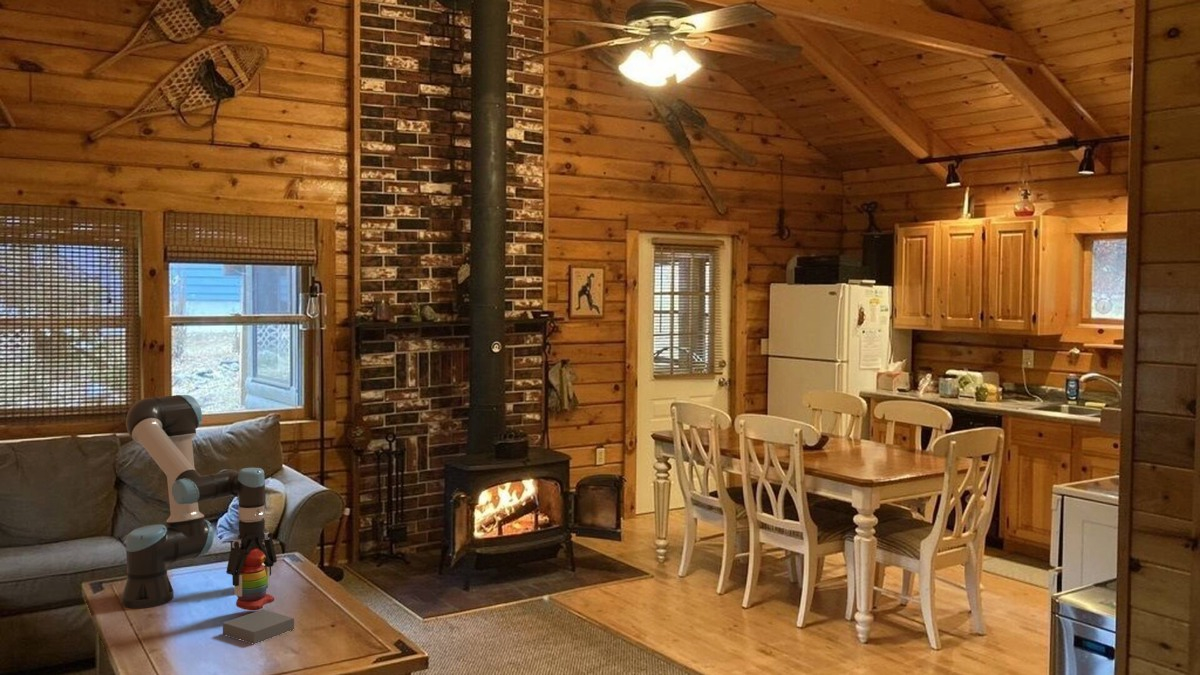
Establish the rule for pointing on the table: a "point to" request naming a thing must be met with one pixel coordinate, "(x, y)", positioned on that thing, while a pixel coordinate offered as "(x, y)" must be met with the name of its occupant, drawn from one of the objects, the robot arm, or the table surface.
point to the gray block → (258, 626)
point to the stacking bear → (254, 582)
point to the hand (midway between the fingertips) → (252, 591)
